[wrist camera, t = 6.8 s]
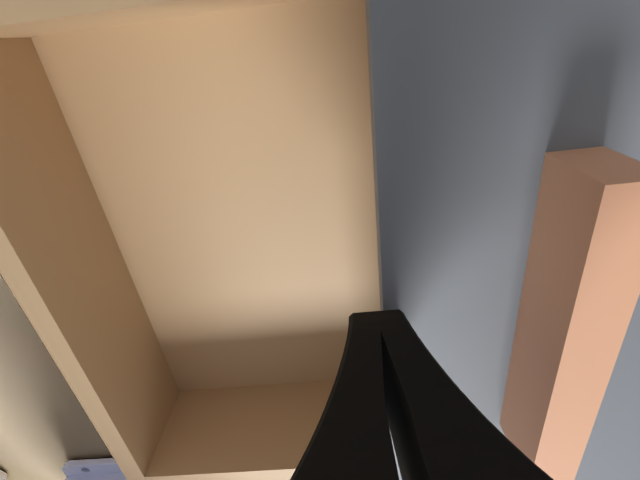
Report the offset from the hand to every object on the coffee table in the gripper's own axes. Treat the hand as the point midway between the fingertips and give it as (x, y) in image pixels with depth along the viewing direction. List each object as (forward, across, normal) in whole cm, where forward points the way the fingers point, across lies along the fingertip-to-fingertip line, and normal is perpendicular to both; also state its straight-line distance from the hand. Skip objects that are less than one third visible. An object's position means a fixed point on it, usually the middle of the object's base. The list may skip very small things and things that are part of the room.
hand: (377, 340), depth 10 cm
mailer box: (+7, +4, 0) cm, 8 cm away
